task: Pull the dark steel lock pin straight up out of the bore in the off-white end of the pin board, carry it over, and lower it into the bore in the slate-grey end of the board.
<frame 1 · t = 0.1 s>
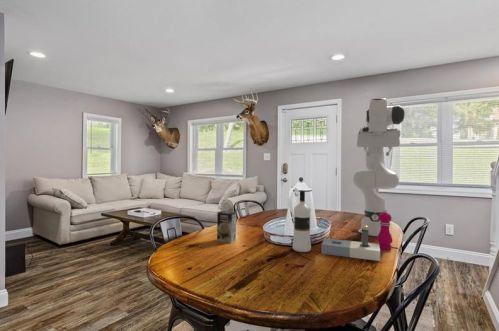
hand: (377, 155, 148), 48 cm above the table, tool pointing down, fingers open, 8 cm apart
coffee box: (226, 241, 159), on the table
pepper mill: (384, 248, 148), on the table
vodka: (301, 250, 144), on the table
pin board: (350, 253, 139), on the table
lock pin: (364, 255, 137), resting in pin board
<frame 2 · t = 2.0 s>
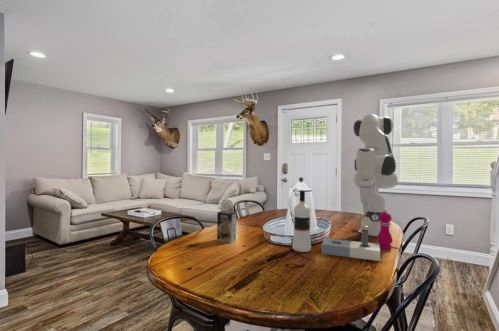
hand: (365, 210, 136), 21 cm above the table, tool pointing down, fingers open, 8 cm apart
nothing on the table moved.
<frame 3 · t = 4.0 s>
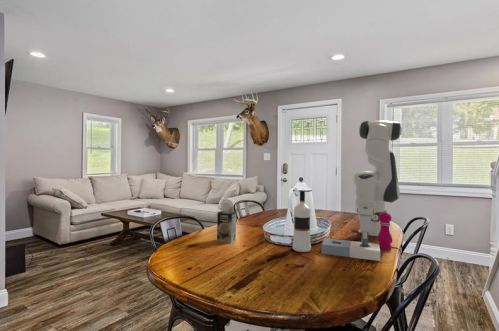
hand: (364, 237, 137), 9 cm above the table, tool pointing down, fingers closed on lock pin, 3 cm apart
lock pin: (364, 255, 137), resting in pin board, touching gripper
everything else where it was.
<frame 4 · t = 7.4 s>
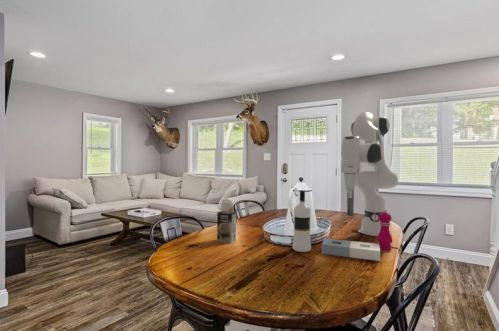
hand: (350, 197, 139), 27 cm above the table, tool pointing down, fingers closed on lock pin, 3 cm apart
lock pin: (350, 215, 139), point 19 cm above the table, touching gripper
everything else where it was.
when the fingers open (10 cm above the table, at t = 10.7 s): lock pin drops 1 cm, resting in pin board.
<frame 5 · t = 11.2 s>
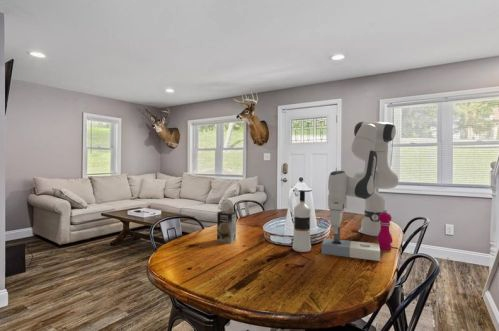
hand: (336, 231, 141), 10 cm above the table, tool pointing down, fingers open, 8 cm apart
lock pin: (336, 251, 142), resting in pin board
everything else where it was.
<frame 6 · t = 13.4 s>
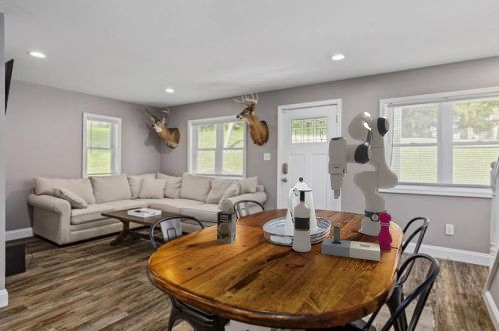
hand: (337, 197, 141), 27 cm above the table, tool pointing down, fingers open, 8 cm apart
nothing on the table moved.
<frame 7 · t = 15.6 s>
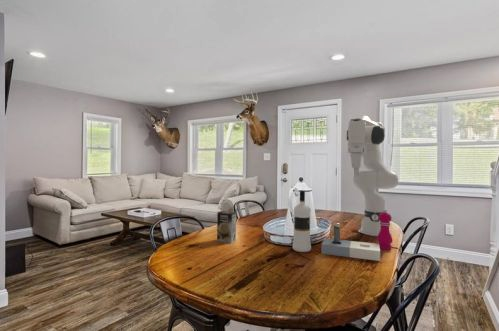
hand: (356, 176, 147), 37 cm above the table, tool pointing down, fingers open, 8 cm apart
nothing on the table moved.
at the end: lock pin 0.1 cm from the target spot on the pin board, point 0.0 cm above the pin board's base; lock pin tilted 0°; the gripper is holding nothing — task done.
